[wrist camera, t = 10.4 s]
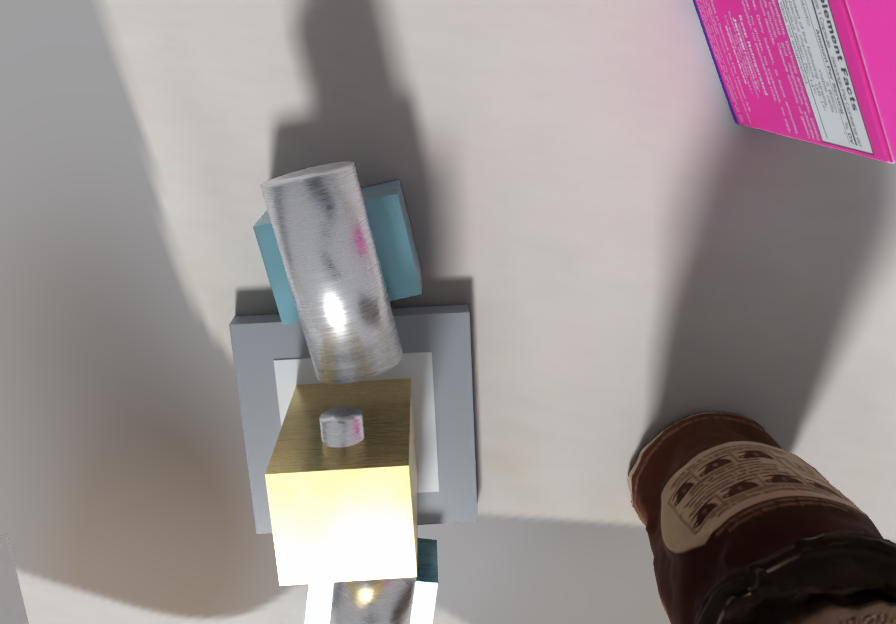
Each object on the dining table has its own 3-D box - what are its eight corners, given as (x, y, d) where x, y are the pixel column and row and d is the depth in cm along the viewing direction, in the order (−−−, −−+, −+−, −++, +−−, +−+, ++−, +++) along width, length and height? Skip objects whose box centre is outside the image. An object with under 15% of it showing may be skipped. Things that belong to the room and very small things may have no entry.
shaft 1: (256, 169, 31) (220, 200, 26) (389, 138, 31) (382, 163, 25) (305, 335, 33) (281, 398, 28) (430, 307, 33) (432, 365, 28)
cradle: (234, 316, 33) (229, 325, 32) (468, 304, 33) (469, 312, 32) (260, 520, 36) (256, 534, 35) (476, 508, 36) (477, 522, 35)
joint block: (293, 365, 33) (261, 450, 26) (409, 358, 33) (407, 442, 26) (308, 495, 34) (282, 606, 28) (418, 488, 34) (418, 597, 28)
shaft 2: (321, 497, 36) (303, 586, 30) (441, 509, 36) (445, 599, 30) (308, 629, 38) (289, 736, 32) (422, 639, 38) (422, 746, 32)
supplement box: (837, -105, 29) (1086, -185, 18) (883, 61, 31) (1136, 77, 20) (677, -29, 30) (826, -63, 19) (731, 129, 32) (897, 181, 21)
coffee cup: (583, 407, 35) (673, 614, 22) (785, 355, 34) (991, 537, 22) (625, 583, 37) (727, 855, 25) (814, 537, 37) (1012, 790, 25)
